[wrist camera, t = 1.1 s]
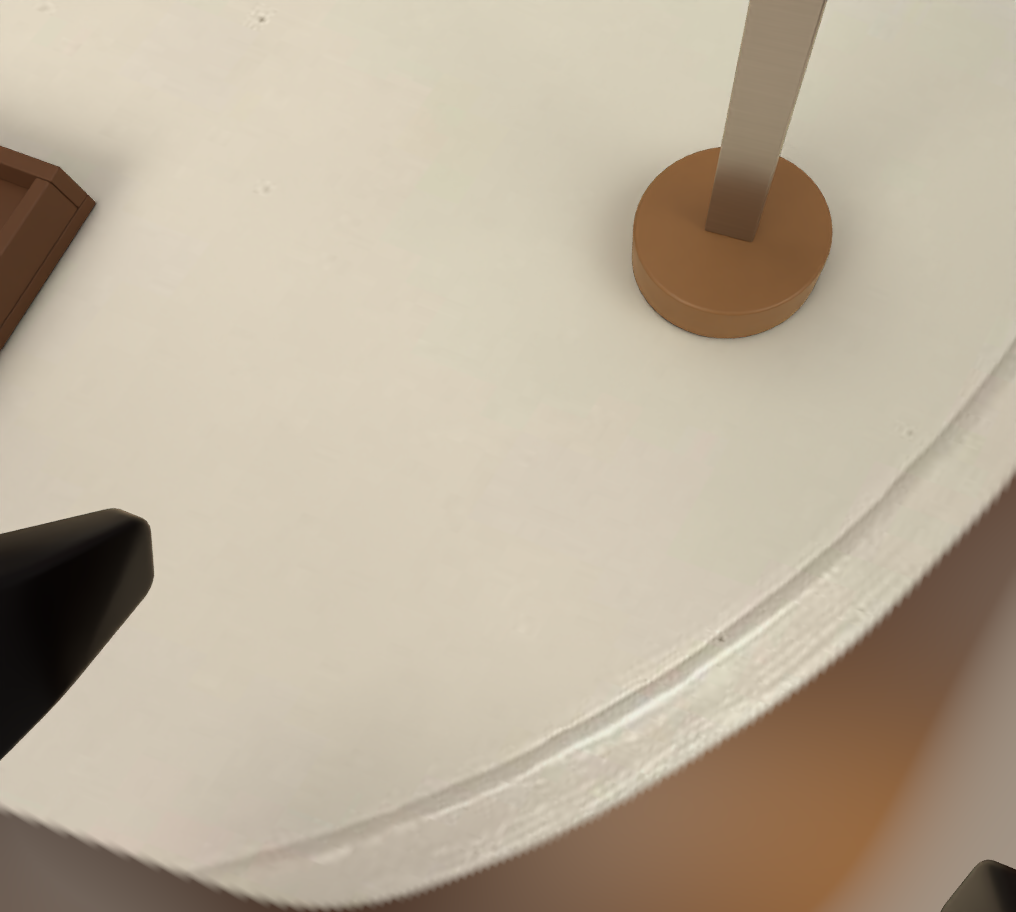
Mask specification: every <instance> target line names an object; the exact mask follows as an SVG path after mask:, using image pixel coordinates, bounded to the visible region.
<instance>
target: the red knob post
mask: <svg viewBox="0 0 1016 912" xmlns="http://www.w3.org/2000/svg"><path fill="white" fill-rule="evenodd" d="M826 3H827V0H750V1H749V6H748V11H747V16H746V22H745V27H744V32H743V37H742V42H741V47H740V52H739V57H738V62H737V67H736V72H735V78H734V83H733V88H732V93H731V98H730V103H729V108H728V113H727V118H726V123H725V128H724V134H723V139H722V144H721V147H718V148H711V149H707V150H703V151H699V152H696V153H694V154H691V155H688V156H686V157H684V158H682V159H680V160H678V161H676V162H675V163H673V164H672V165H670V166H669V167H667V168H666V169H665V170H664V171H663V172H662V173H660V174H659V175H658V176H657V177H656V178H655V179H654V181H653V182H652V183H651V184H650V185H649V186H648V188H647V190H646V191H645V193H644V194H643V196H642V198H641V200H640V202H639V204H638V207H637V210H636V214H635V218H634V225H633V244H632V265H633V272H634V275H635V279H636V282H637V284H638V286H639V288H640V291H641V293H642V294H643V296H644V297H645V299H646V300H647V302H648V303H649V304H650V305H651V306H652V307H653V308H654V310H655V311H656V312H658V313H659V314H660V315H661V316H662V317H663V318H665V319H666V320H668V321H669V322H671V323H672V324H674V325H676V326H678V327H680V328H682V329H684V330H686V331H689V332H692V333H694V334H698V335H702V336H707V337H714V338H739V337H746V336H750V335H754V334H758V333H761V332H764V331H766V330H769V329H771V328H773V327H775V326H777V325H779V324H781V323H782V322H784V321H785V320H786V319H788V318H789V317H791V316H792V315H793V314H794V313H795V312H796V311H797V310H798V309H799V308H800V307H801V306H802V305H803V303H804V302H805V301H806V300H807V298H808V296H809V295H810V293H811V291H812V290H813V288H814V286H815V284H816V281H817V279H818V277H819V275H820V273H821V271H822V269H823V267H824V265H825V263H826V260H827V258H828V255H829V252H830V248H831V243H832V220H831V216H830V212H829V208H828V206H827V203H826V201H825V198H824V196H823V195H822V193H821V191H820V190H819V188H818V187H817V185H816V184H815V183H814V182H813V180H812V179H811V178H810V177H809V176H808V175H807V174H806V173H805V172H804V171H802V170H801V169H800V168H798V167H797V166H796V165H794V164H793V163H791V162H789V161H788V160H786V159H784V158H782V157H780V153H781V150H782V147H783V143H784V140H785V137H786V134H787V130H788V127H789V124H790V120H791V117H792V114H793V111H794V107H795V104H796V101H797V98H798V94H799V91H800V88H801V85H802V81H803V78H804V75H805V72H806V68H807V65H808V62H809V58H810V55H811V52H812V49H813V45H814V42H815V39H816V36H817V32H818V29H819V26H820V23H821V19H822V16H823V13H824V10H825V6H826Z"/></svg>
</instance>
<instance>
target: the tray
mask: <svg viewBox="0 0 1016 912" xmlns="http://www.w3.org/2000/svg"><path fill="white" fill-rule="evenodd" d="M95 204H96V202H95V201H94V200H93V199H92V198H91V197H90V196H89V195H87V193H86V192H85V191H84V190H83V189H82V188H81V187H80V186H79V185H78V184H77V183H76V182H75V181H73V180H72V179H71V178H70V177H69V176H68V175H67V174H66V173H65V172H64V171H63V170H62V169H61V168H60V167H58V166H55V165H52V164H50V163H47V162H44V161H41V160H39V159H36V158H33V157H30V156H27V155H25V154H22V153H19V152H16V151H13V150H11V149H8V148H5V147H2V146H0V351H1V349H2V348H3V346H4V344H5V343H6V341H7V340H8V338H9V337H10V335H11V334H12V332H13V331H14V329H15V327H16V326H17V324H18V323H19V321H20V320H21V318H22V317H23V315H24V314H25V312H26V310H27V309H28V307H29V306H30V304H31V303H32V301H33V300H34V298H35V297H36V295H37V294H38V292H39V290H40V289H41V287H42V286H43V284H44V283H45V281H46V280H47V278H48V277H49V275H50V273H51V272H52V270H53V269H54V267H55V266H56V264H57V263H58V261H59V260H60V258H61V256H62V255H63V253H64V252H65V250H66V249H67V247H68V246H69V244H70V243H71V241H72V240H73V238H74V236H75V235H76V233H77V232H78V230H79V229H80V227H81V226H82V224H83V223H84V221H85V219H86V218H87V216H88V215H89V213H90V212H91V210H92V209H93V207H94V206H95Z"/></svg>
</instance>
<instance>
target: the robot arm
mask: <svg viewBox="0 0 1016 912" xmlns="http://www.w3.org/2000/svg"><path fill="white" fill-rule="evenodd" d="M153 578H154V566H153V552H152V539H151V529H150V526H149V524H148V523H147V521H146V520H144V519H143V518H141V517H138V516H136V515H133V514H131V513H128V512H126V511H123V510H121V509H116V508H111V509H105V510H101V511H97V512H93V513H88V514H84V515H80V516H75V517H71V518H67V519H63V520H58V521H54V522H50V523H46V524H41V525H37V526H33V527H29V528H24V529H20V530H16V531H12V532H7V533H3V534H0V760H1V759H2V758H3V757H4V756H5V755H6V754H7V753H8V752H9V751H10V750H11V749H12V748H13V747H14V746H15V745H16V744H17V743H18V742H19V741H20V740H21V739H22V738H23V737H24V736H25V735H26V734H27V733H28V732H29V731H30V730H31V729H32V728H33V727H34V726H35V725H36V724H37V723H38V722H39V721H40V720H41V719H42V718H43V717H44V716H45V715H46V714H47V713H48V712H49V711H50V710H51V708H52V707H53V706H54V705H55V704H56V703H57V702H58V701H59V700H60V699H61V698H62V697H63V695H64V694H65V693H66V692H67V691H68V690H69V688H70V687H71V686H72V685H73V684H74V683H75V682H76V680H77V679H78V678H79V677H80V675H81V674H82V673H83V672H84V671H85V669H86V668H87V667H88V666H89V665H90V663H91V662H92V661H93V660H94V658H95V657H96V656H97V655H98V654H99V652H100V651H101V650H102V649H103V647H104V646H105V645H106V644H107V643H108V641H109V640H110V639H111V638H112V636H113V635H114V634H115V633H116V632H117V630H118V629H119V628H120V627H121V626H122V624H123V623H124V622H125V621H126V619H127V618H128V617H129V616H130V615H131V613H132V612H133V611H134V610H135V608H136V607H137V606H138V605H139V604H140V602H141V601H142V600H143V599H144V597H145V596H146V595H147V593H148V591H149V589H150V588H151V585H152V582H153ZM941 912H1016V869H1013V868H1011V867H1008V866H1006V865H1003V864H1001V863H998V862H996V861H993V860H984V861H982V862H980V863H979V864H977V865H976V866H975V867H974V869H973V870H972V871H971V872H970V874H969V875H968V876H967V877H966V879H965V880H964V881H963V882H962V884H961V885H960V886H959V888H958V889H957V890H956V891H955V892H954V894H953V895H952V896H951V897H950V899H949V900H948V901H947V902H946V904H945V905H944V907H943V908H942V910H941Z"/></svg>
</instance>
